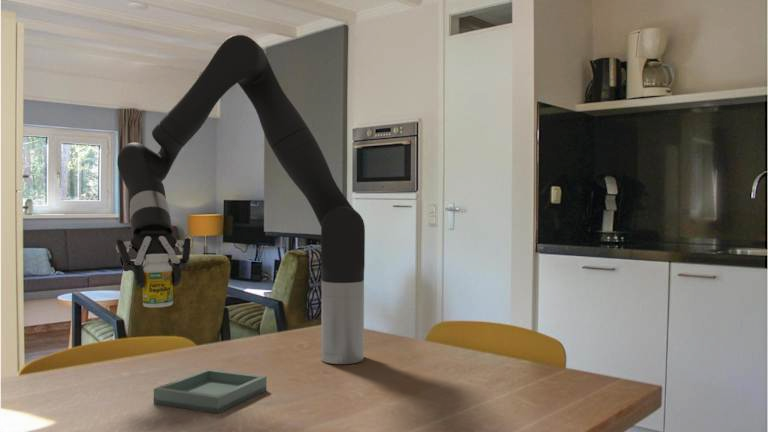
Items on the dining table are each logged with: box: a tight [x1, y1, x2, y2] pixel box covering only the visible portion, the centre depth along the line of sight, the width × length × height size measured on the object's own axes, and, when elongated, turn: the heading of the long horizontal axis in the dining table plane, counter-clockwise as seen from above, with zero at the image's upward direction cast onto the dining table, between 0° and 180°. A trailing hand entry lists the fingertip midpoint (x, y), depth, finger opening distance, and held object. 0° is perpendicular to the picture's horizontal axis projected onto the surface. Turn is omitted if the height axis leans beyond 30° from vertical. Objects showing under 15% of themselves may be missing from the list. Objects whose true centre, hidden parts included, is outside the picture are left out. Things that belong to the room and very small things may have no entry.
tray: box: [153, 368, 268, 414], centre depth 108 cm, size 14×13×2 cm
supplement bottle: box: [142, 254, 174, 308], centre depth 116 cm, size 5×5×10 cm
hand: (159, 283), depth 114 cm, fingers closed on supplement bottle, 5 cm apart
